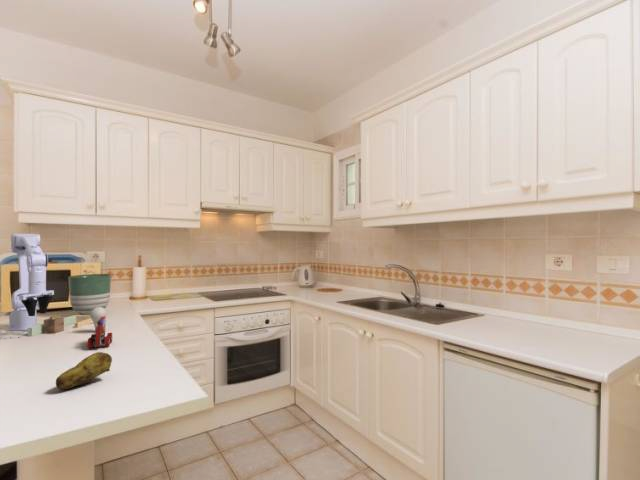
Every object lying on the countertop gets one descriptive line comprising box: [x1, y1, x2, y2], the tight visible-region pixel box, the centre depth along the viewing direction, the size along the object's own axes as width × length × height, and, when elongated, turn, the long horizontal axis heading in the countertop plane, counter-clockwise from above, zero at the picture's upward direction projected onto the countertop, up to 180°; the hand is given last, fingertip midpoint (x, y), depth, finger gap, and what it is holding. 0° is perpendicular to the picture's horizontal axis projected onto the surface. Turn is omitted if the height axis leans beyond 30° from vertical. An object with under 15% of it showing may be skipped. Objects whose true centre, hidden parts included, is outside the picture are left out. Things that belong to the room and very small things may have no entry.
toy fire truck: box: [86, 316, 113, 350], centre depth 132 cm, size 7×12×10 cm, turn 23°
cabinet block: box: [43, 314, 65, 335], centre depth 152 cm, size 5×5×7 cm
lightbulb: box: [90, 307, 108, 331], centre depth 152 cm, size 6×6×11 cm
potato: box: [55, 351, 113, 390], centre depth 96 cm, size 8×13×8 cm, turn 123°
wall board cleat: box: [27, 314, 94, 337], centre depth 158 cm, size 10×26×4 cm, turn 176°
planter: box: [68, 273, 112, 315], centre depth 189 cm, size 20×20×21 cm
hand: (37, 314), depth 144 cm, fingers open, 5 cm apart
